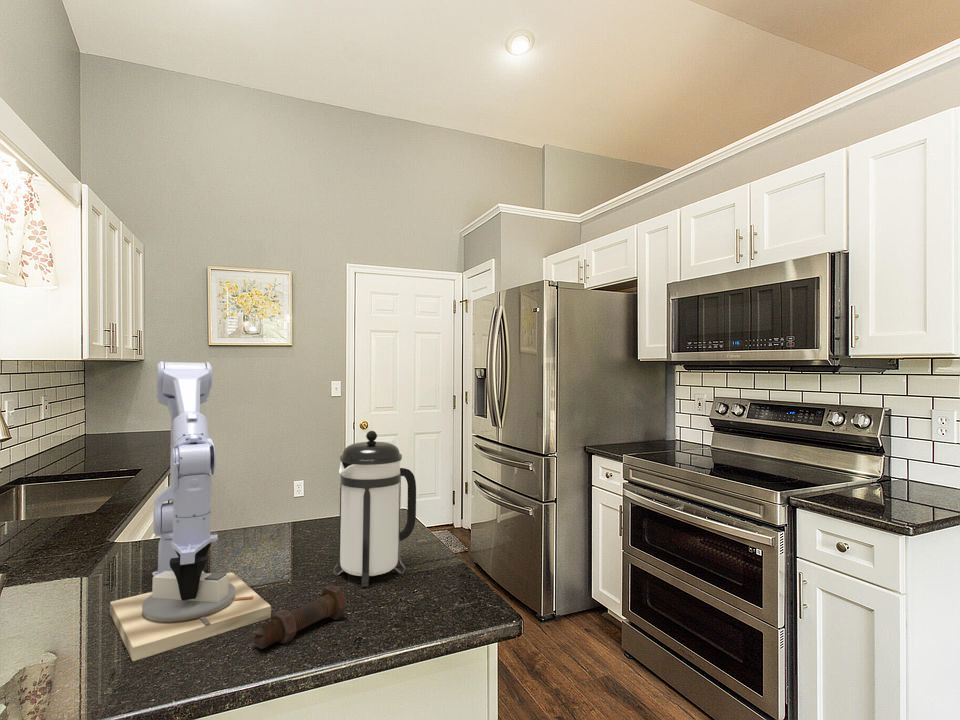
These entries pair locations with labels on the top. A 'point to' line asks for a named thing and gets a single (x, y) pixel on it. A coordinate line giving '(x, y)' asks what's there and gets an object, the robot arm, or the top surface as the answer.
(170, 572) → the dial
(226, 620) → the dial board
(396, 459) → the coffee press
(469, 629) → the top surface
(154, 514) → the robot arm
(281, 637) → the bolt
